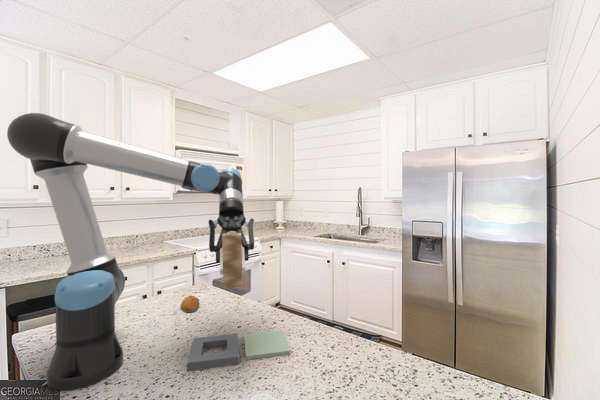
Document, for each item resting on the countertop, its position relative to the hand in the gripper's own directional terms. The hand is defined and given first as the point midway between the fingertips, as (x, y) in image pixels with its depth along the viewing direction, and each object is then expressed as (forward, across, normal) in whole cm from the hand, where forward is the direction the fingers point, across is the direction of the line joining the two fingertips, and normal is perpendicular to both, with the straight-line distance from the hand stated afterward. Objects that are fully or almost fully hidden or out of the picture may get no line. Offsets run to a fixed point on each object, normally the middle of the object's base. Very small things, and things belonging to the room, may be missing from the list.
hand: (232, 271), depth 76 cm
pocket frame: (+14, +5, -19) cm, 24 cm away
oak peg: (+1, 0, -6) cm, 6 cm away
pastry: (-11, +16, -44) cm, 48 cm away
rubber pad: (+14, -9, -20) cm, 26 cm away
